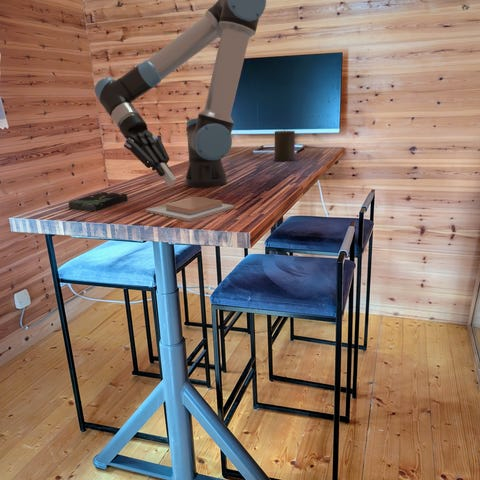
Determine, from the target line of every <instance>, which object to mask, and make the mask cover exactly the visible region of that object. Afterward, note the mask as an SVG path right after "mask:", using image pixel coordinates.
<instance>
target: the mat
mask: <svg viewBox="0 0 480 480" xmlns="http://www.w3.org/2000/svg"><path fill="white" fill-rule="evenodd" d="M190 198H191V197H188V198H184V199H180V200H176V201H172V202H168V203H165V204H160V205H157V206H156V205H155V206H152V207H148V208H145V213H148V212H150V213H149V214H153V213H155V214H154V215H157V214H159V215H158V216H162V215H163V216H162V217H166V216H168V217H167V218H171V217H172V218H171V219H175V218H177V219H176V220H180V221H181V220H182V221H185V222H193V221H195V220H199V219H203V218H207V217H209V216H212V215H215V214H218V213H221V212H224V211H229V210H232V209H234V205H233V204H227V203H222V206H221V207H218V208H215V209H211V210H208V211H204V212H201V213H197V214H194V215H187V214H182V213H177V212H172V211H167V210H166V204H170V203H174V202H178V201H182V200H186V199H190Z"/></svg>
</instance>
